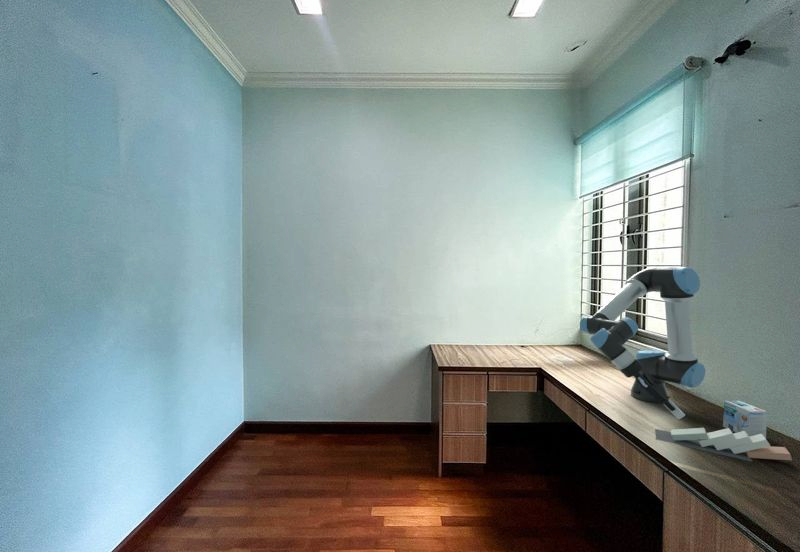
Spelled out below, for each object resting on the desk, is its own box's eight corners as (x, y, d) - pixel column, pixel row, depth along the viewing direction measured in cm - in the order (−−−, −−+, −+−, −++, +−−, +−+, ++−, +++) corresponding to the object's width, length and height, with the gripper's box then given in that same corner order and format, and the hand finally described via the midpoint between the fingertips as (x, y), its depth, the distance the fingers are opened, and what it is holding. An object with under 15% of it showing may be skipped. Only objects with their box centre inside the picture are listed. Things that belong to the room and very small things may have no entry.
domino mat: (655, 430, 133) (655, 428, 133) (744, 450, 118) (744, 448, 118) (656, 441, 125) (656, 439, 125) (752, 464, 110) (752, 461, 110)
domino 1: (670, 429, 128) (703, 427, 123) (672, 435, 128) (706, 433, 122) (671, 434, 124) (706, 433, 118) (673, 440, 124) (708, 439, 118)
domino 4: (726, 442, 119) (761, 433, 114) (731, 447, 118) (766, 439, 114) (730, 448, 115) (766, 439, 110) (734, 454, 114) (770, 445, 109)
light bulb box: (722, 426, 137) (722, 400, 137) (739, 426, 137) (740, 400, 136) (748, 439, 126) (749, 411, 126) (767, 440, 126) (768, 411, 126)
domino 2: (696, 435, 124) (728, 427, 119) (700, 441, 123) (732, 433, 118) (698, 441, 120) (732, 433, 115) (702, 447, 119) (736, 439, 114)
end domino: (742, 445, 117) (784, 447, 111) (744, 451, 117) (786, 453, 111) (746, 451, 113) (790, 453, 107) (748, 457, 112) (792, 460, 107)
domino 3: (710, 438, 121) (744, 430, 116) (714, 444, 121) (748, 436, 116) (713, 444, 117) (748, 436, 112) (717, 450, 117) (752, 442, 112)
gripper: (620, 365, 140) (670, 416, 131) (618, 373, 130) (673, 428, 120) (635, 354, 137) (689, 405, 128) (635, 361, 127) (693, 417, 117)
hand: (681, 416), depth 124 cm, fingers closed
